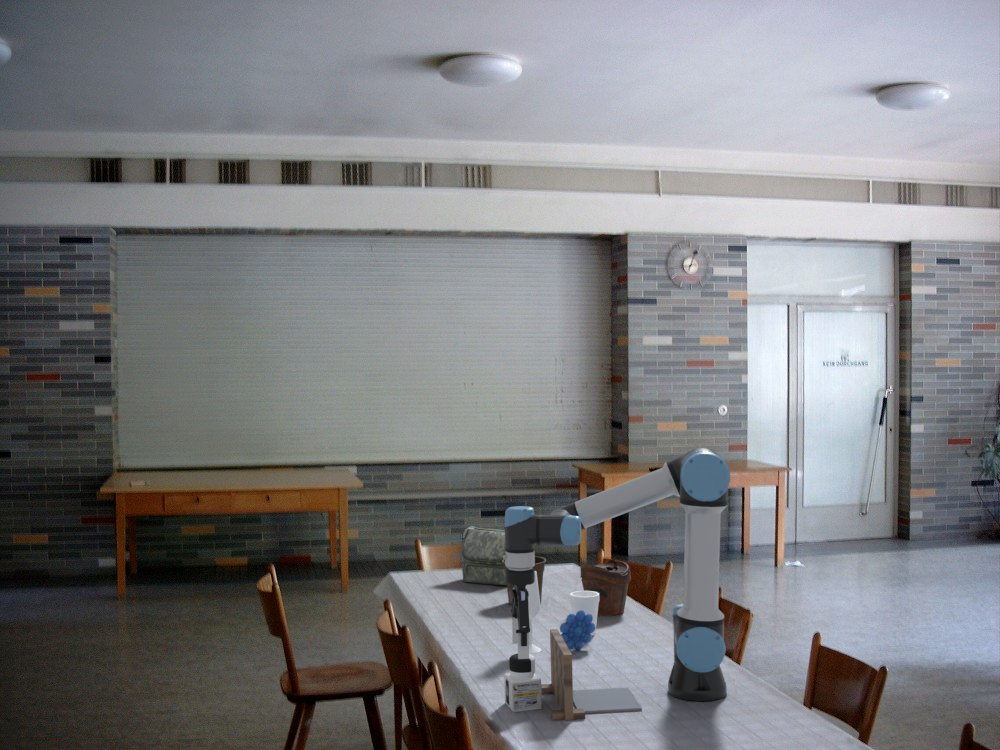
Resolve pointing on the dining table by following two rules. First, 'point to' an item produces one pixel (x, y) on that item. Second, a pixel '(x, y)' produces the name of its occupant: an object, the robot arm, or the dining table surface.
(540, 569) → the plant pot
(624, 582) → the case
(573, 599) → the foam cup
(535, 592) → the champagne flute
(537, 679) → the container
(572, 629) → the grapes
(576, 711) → the screen
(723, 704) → the dining table surface
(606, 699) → the mat
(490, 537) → the lunch bag
